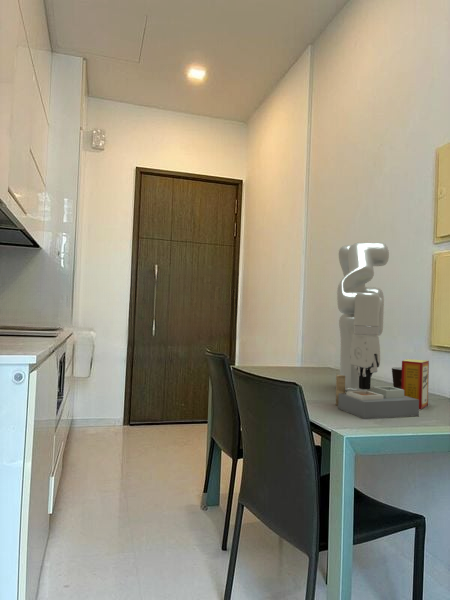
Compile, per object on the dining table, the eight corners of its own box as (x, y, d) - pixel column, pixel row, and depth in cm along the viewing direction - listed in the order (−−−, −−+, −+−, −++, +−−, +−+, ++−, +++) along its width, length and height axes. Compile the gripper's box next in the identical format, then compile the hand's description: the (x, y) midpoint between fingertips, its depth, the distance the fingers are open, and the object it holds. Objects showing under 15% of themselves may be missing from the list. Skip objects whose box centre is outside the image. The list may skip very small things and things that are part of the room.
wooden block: (334, 404, 154) (334, 375, 154) (341, 403, 155) (342, 374, 155) (338, 406, 151) (339, 376, 151) (346, 405, 152) (347, 376, 152)
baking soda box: (408, 402, 161) (409, 357, 161) (427, 405, 157) (428, 359, 157) (400, 406, 153) (401, 359, 154) (421, 409, 149) (422, 361, 150)
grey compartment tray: (338, 408, 147) (338, 385, 147) (388, 406, 153) (389, 384, 153) (364, 418, 133) (365, 393, 134) (418, 415, 140) (419, 391, 140)
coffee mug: (389, 394, 176) (390, 368, 176) (392, 391, 184) (393, 366, 184) (421, 397, 171) (422, 371, 171) (423, 394, 178) (423, 369, 179)
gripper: (342, 329, 148) (341, 384, 148) (370, 333, 134) (369, 394, 134) (361, 329, 151) (360, 383, 151) (391, 333, 136) (390, 393, 137)
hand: (364, 388), depth 142 cm, fingers closed
